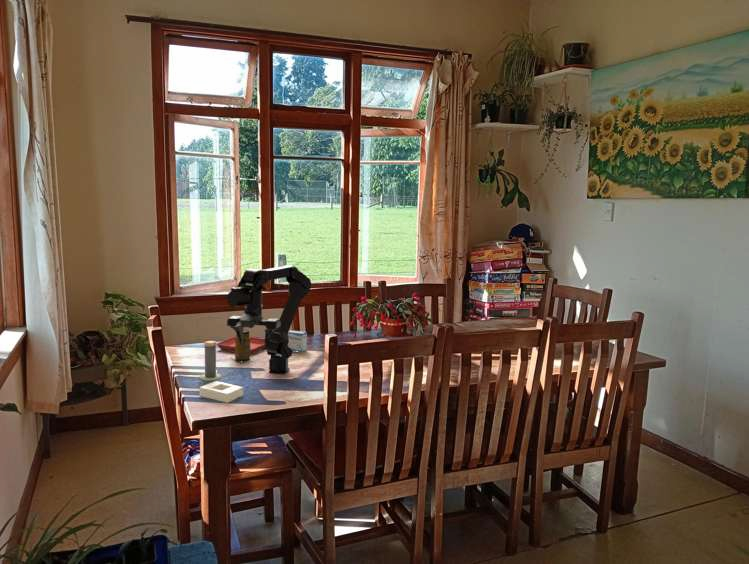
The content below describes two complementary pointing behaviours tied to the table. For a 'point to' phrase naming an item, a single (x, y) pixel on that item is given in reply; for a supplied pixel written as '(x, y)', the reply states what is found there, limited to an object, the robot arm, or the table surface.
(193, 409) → the table surface
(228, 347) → the plant saucer
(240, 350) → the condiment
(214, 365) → the plug
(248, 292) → the robot arm
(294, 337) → the medicine box
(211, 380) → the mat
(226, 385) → the square frame
